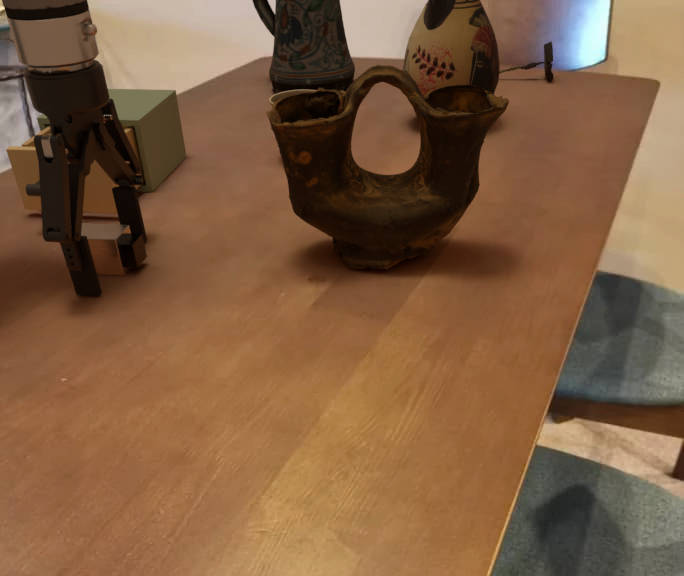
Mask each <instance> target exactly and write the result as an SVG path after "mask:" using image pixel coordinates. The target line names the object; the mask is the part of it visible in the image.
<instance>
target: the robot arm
mask: <svg viewBox="0 0 684 576" xmlns="http://www.w3.org/2000/svg"><path fill="white" fill-rule="evenodd" d="M1 3H2V6H3V8H4V12H5V16H6V19H7V23H8V26H9V30H10V33H11V37H12V40H13V44H14V47H15V51H16V55H17V59H18V62H19V63H20V64H22V66H25V67H26V68H25V70H24V72H23V76H24V77H23V78H24V81H25V84H26V88H27V92H28V94H29V98H30V102H31V105H32V108H33V109H34V110H35V111H36V112H37V113H40V114H41V115H42V114H44V115H45V116H46V117H47V118H48V119H49V123H50V134H49V135H36V134H34V145H35V149H36V153H37V157H38V161H39V178H40V195H41V210H40V213H41V226H42V227H41V228H42V237H43V241H44V242H47V243H59V244H60V247H61V251H62V254H63V257H64V262H65V264H66V267H67V268H68V272H69V276H70V278H71V282H72V285H73V289H74V292H75V295H77V296H78V295H80V296H94V297H95V296H97V297H100V296H101V294H102V293H103V290H102V287H101V284H100V280H99V276H98V274H97V272H96V269H95V265H94V261H93V258H92V254H91V250H90V247H89V243H88V240H87V236H81V229H82V223H83V217H84V216H83V214H84V212H83V202H84V188H85V177H86V176H87V175H89V173H90V169H91V164H93V162H94V160H96V162H97V163H98V164H99V165H100V166H101V168H102V169H103V170H104V171H105V172H106V174H107V175H108V176H109V177H110V178H111V180H112V181H113V182H114V183H115V184H116V185H119V187H113V188H112V193H113V197H114V201H115V205H116V209H117V213H118V214H117V218H118V221H119V225H129V227H130V232H131V233H133V234H142V235H143V240H144V243H146V242H147V241H148V237H147V233H146V228H145V223H144V219H143V215H142V209H141V205H140V200H139V197H138V191H136V187H135V185H142V184H143V177H142V175H136V174H141V171H142V168H141V165H140V163H139V161H138V159H137V156H136V154H135V152H134V150H133V148H132V146H131V144H130V142H129V140H128V137H127V135H126V133H125V131H124V129H123V127H122V125H121V123H120V120H119V118H118V115H117V111H116V108H115V104H114V101H113V99H109V92H108V89H109V88H108V84H107V79H106V74H105V71H104V66H103V64H102V63H101V62H100V61H98V60H97V59H96V58H97V57H98V55H100V51H99V46H98V42H97V37H96V35H97V33H98V28H97V25H96V24H95V23H93V19H92V16H91V11H90V8H89V2H88V0H1ZM125 161H129V162H130V163H126V162H125ZM68 162H69V163H70V164H68Z"/></svg>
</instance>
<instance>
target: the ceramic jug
mask: <svg viewBox="0 0 684 576" xmlns="http://www.w3.org/2000/svg"><path fill="white" fill-rule="evenodd" d="M498 46H499V45H498V41H497V37H496V34H495V31H494V28H493V25H492V23H491V21H490V19H489V16H488V15H487V12H486V9H485V7H484V5H483V3H482V1H481V0H427V2H426V3H425V4H424V7H423V8H422V11H421V13H420V14H419V16H418V18H417V20H416V22H415V24H414V26H413V28H412V30H411V33H410V35H409V37H408V41H407V44H406V48H405V53H404V58H403V65H402V70H403V71H405V72H407V73H409V74H410V75H411V77H412V78H413V79H414V81H415V82H416V83H417V85H418V87H419V89H420V91H421V93H422V95H423V96H425V95H426V94H427V93H428V92H429V91H431V90H434V89H438V88H443V87H447V86H456V85H462V84H468V85H471V86H475V87H481V88H483V89H485V90H486V91H488V92H491V93H492V94H493V95H494V96H495V92H496V89H497V87H498V84H499V80H500V74H499V72H500V71H501V70H500V69H501V67H500V55H499V47H498ZM487 94H490V93H487ZM406 99H407V101H408V102H409V100H408V97H406Z"/></svg>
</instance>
